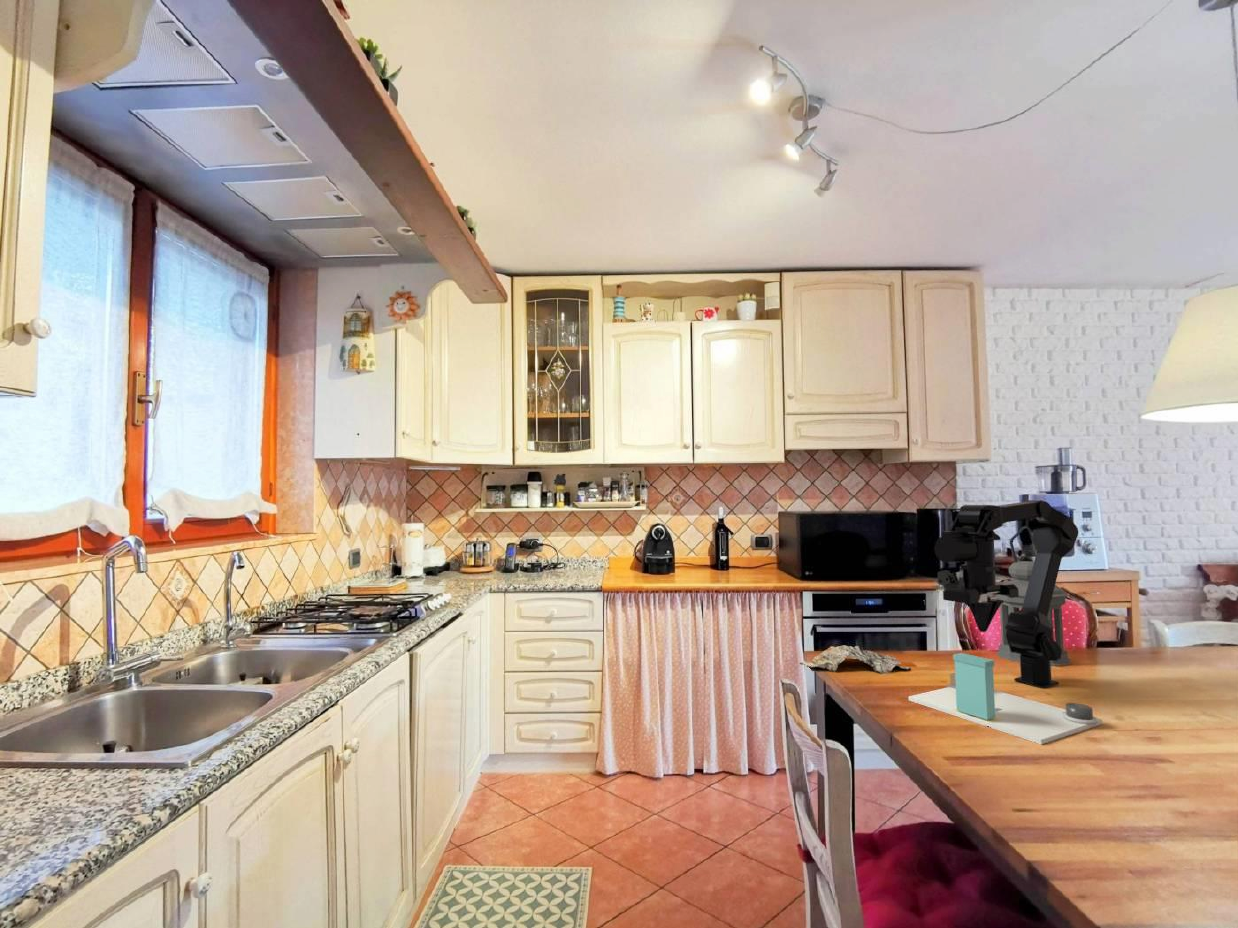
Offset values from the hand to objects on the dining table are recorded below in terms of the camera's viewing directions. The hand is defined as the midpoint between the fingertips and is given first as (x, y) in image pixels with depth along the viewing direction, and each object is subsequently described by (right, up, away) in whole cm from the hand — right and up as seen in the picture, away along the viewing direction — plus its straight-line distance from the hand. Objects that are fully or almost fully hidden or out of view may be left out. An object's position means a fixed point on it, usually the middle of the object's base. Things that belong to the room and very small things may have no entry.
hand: (982, 631), depth 133 cm
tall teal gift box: (-12, -11, -18) cm, 24 cm away
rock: (-20, -15, +21) cm, 32 cm away
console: (-5, -12, -13) cm, 19 cm away
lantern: (+29, -15, +26) cm, 42 cm away
